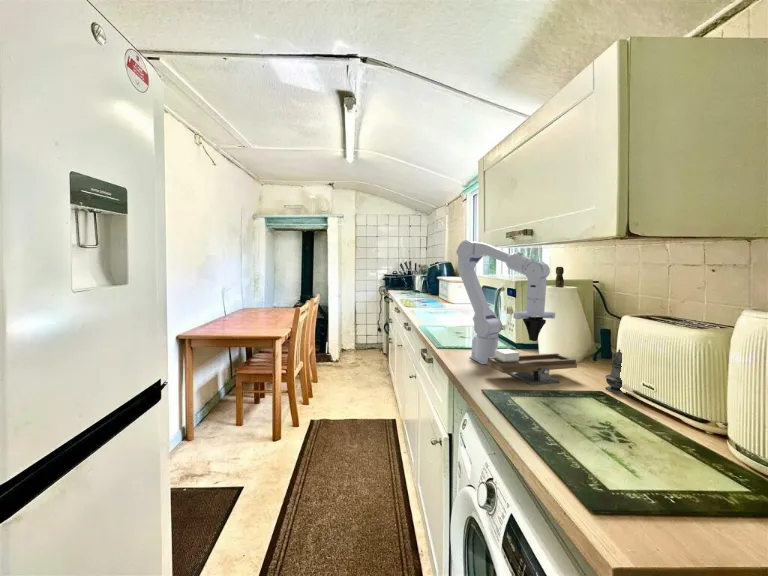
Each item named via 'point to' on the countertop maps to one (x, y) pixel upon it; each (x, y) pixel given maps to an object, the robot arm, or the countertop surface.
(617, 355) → the dark grey chess piece
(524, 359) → the brown wooden tray
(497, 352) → the white block
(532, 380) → the fulcrum stand
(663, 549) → the countertop surface
